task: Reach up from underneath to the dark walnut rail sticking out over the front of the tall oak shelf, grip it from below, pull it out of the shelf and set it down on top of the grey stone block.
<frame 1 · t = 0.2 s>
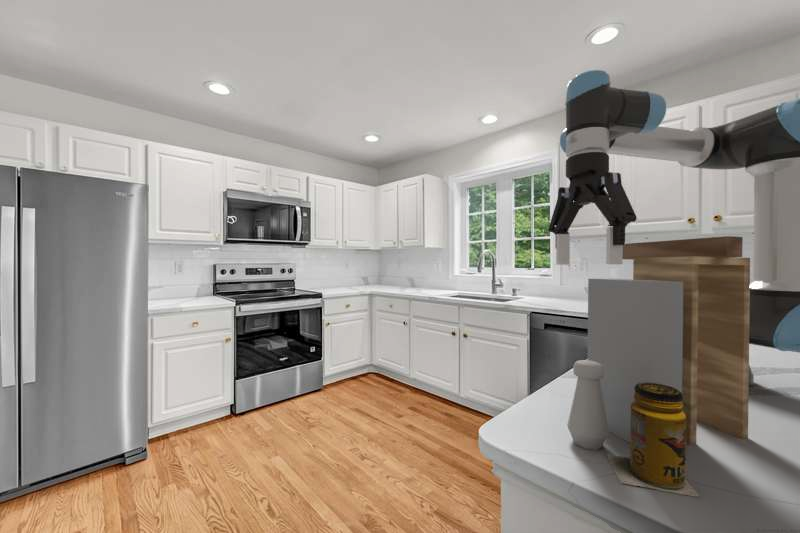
hand: (586, 264, 70), 29 cm above the counter, tool pointing down, fingers open, 13 cm apart
condiment: (648, 476, 48), on the counter
oak shelf: (686, 426, 63), on the counter
walnut rail: (670, 258, 67), point 30 cm above the counter, touching oak shelf
salt shaker: (587, 444, 57), on the counter
stone block: (629, 432, 61), on the counter
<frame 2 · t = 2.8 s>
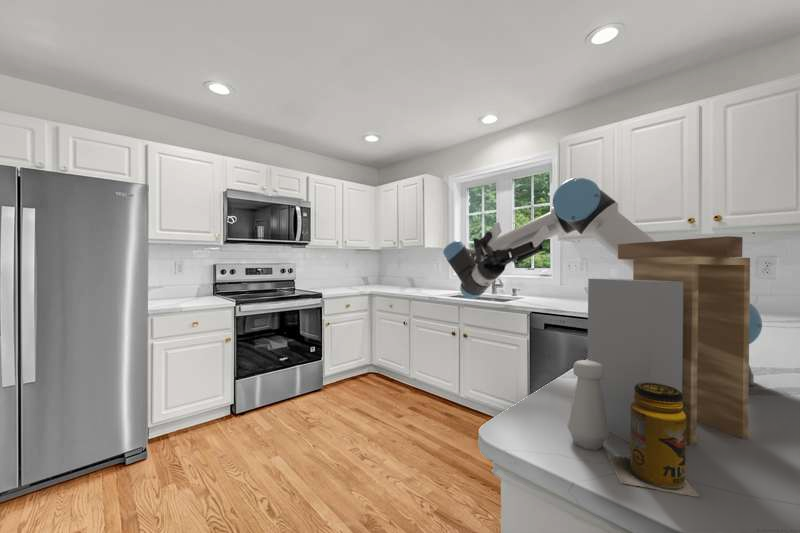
hand: (523, 228, 90), 38 cm above the counter, tool pointing upward, fingers open, 13 cm apart
nothing on the counter moved.
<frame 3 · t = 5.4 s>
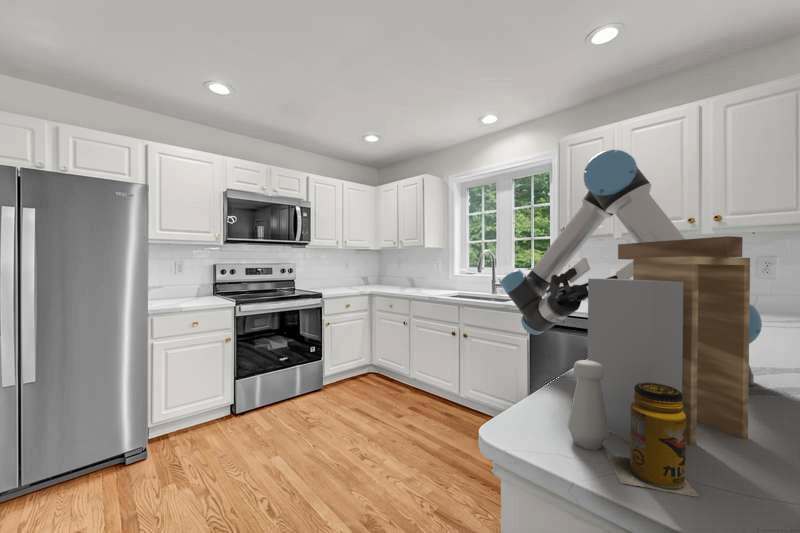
hand: (613, 263, 79), 29 cm above the counter, tool pointing upward, fingers open, 13 cm apart
nothing on the counter moved.
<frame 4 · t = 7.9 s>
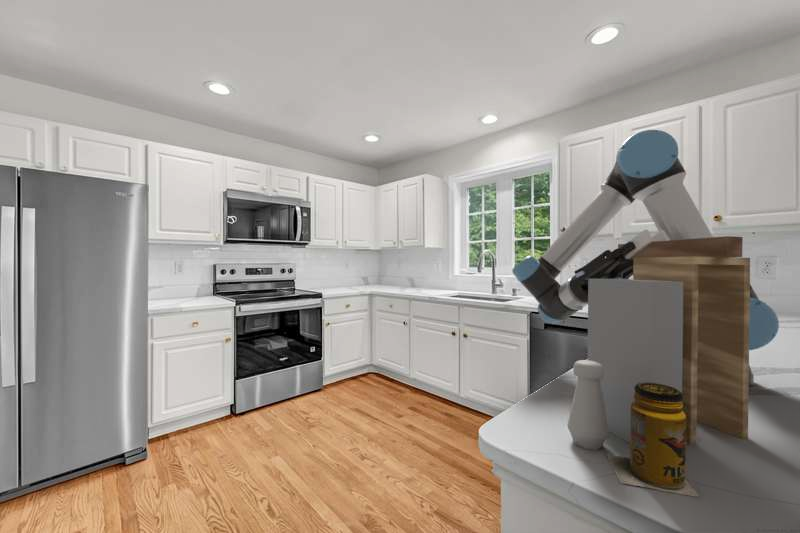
hand: (657, 235, 69), 34 cm above the counter, tool pointing upward, fingers closed on walnut rail, 3 cm apart
walnut rail: (670, 258, 67), point 30 cm above the counter, touching gripper, oak shelf
everything else where it was.
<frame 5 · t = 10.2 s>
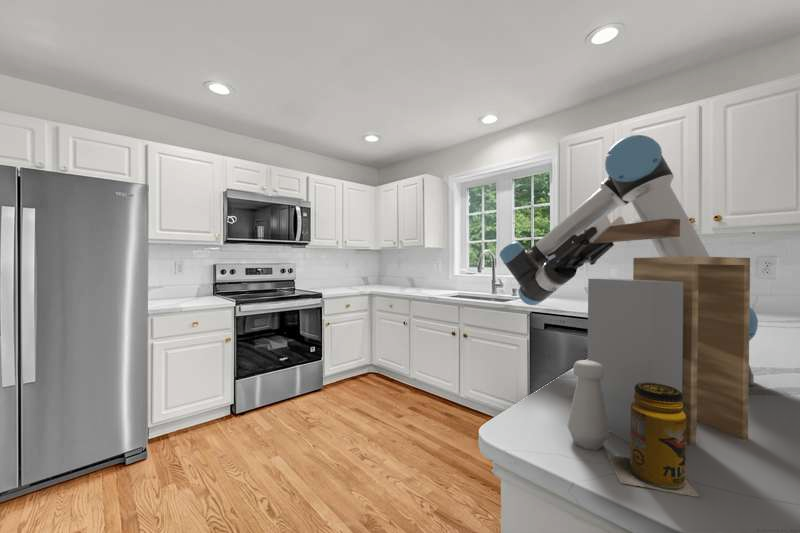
hand: (615, 221, 79), 38 cm above the counter, tool pointing upward, fingers closed on walnut rail, 3 cm apart
walnut rail: (625, 240, 76), point 34 cm above the counter, touching gripper
everything else where it was.
when the fingers open (31 cm above the counter, at t = 12.9 s): walnut rail stays where it is, resting on stone block.
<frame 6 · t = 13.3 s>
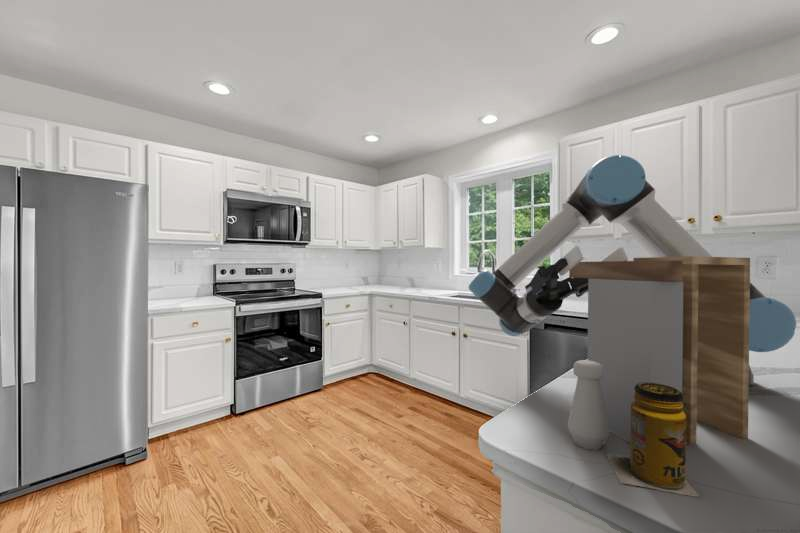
hand: (602, 253, 67), 31 cm above the counter, tool pointing upward, fingers open, 9 cm apart
walnut rail: (616, 279, 64), point 26 cm above the counter, touching stone block
everything else where it was.
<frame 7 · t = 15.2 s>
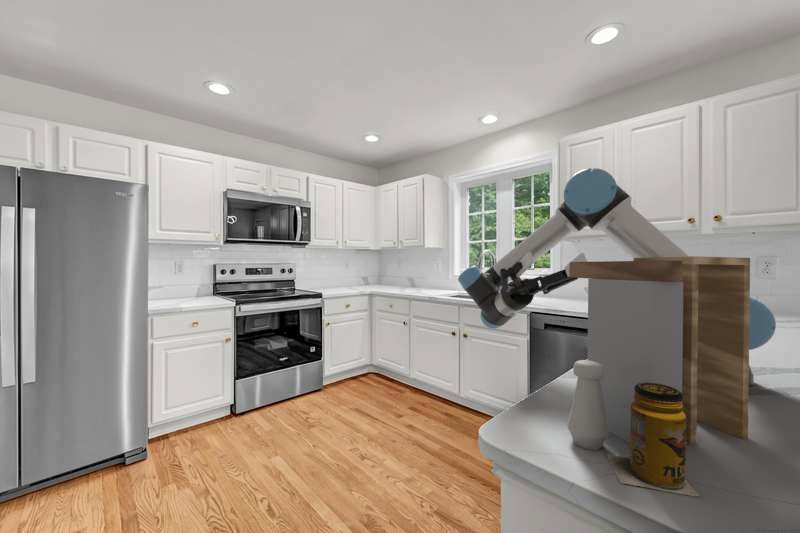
hand: (558, 257, 80), 30 cm above the counter, tool pointing upward, fingers open, 13 cm apart
nothing on the counter moved.
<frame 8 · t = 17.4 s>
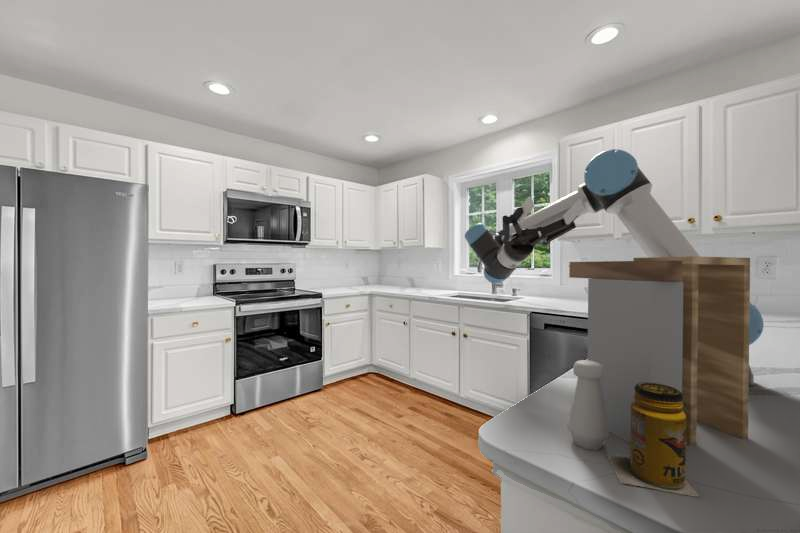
hand: (557, 202, 85), 44 cm above the counter, tool pointing upward, fingers open, 13 cm apart
nothing on the counter moved.
at the end: walnut rail inside the target area on the stone block (0.6 cm from its centre), point 26.0 cm above the stone block's base; walnut rail touching stone block; the gripper is holding nothing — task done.
